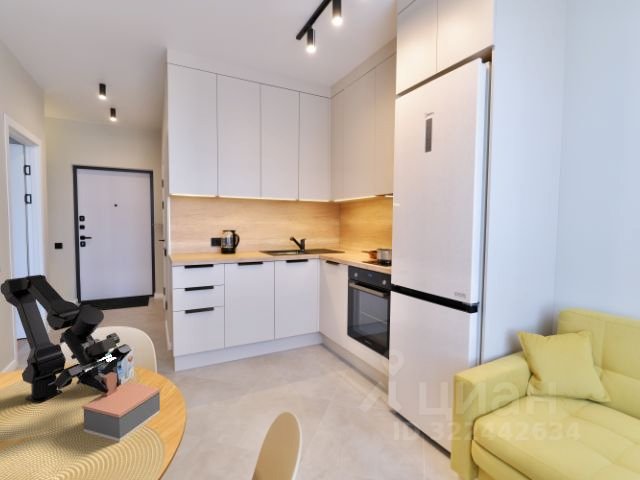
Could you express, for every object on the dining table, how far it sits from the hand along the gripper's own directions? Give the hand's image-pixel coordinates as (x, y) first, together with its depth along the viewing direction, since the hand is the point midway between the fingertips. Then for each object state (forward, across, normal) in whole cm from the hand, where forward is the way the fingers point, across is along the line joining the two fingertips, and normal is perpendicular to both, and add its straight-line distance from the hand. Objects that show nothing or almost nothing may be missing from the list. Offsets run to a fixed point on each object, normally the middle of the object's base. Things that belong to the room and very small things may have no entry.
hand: (113, 389), depth 89 cm
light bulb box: (-6, +15, +19) cm, 25 cm away
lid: (+4, 0, -1) cm, 4 cm away
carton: (+9, 0, +4) cm, 9 cm away
